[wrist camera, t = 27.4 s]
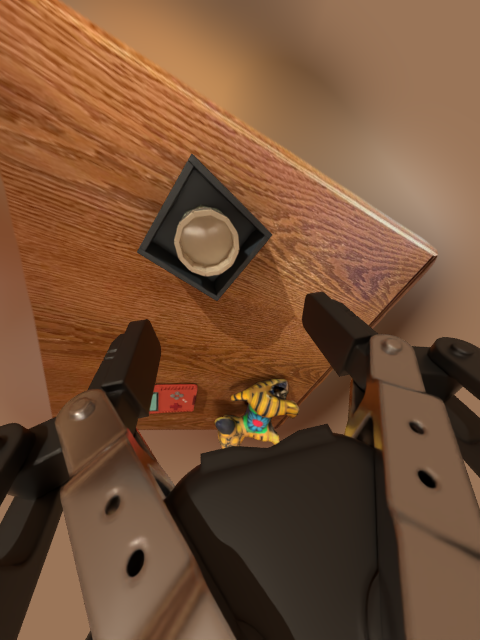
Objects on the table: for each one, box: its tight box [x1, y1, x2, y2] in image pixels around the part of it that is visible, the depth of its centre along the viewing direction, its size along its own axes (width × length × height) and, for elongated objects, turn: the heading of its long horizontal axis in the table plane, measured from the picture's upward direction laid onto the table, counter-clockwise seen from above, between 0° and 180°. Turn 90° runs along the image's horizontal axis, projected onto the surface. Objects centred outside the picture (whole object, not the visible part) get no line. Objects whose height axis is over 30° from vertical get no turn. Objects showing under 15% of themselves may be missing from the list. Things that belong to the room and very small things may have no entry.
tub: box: [137, 154, 272, 301], centre depth 22 cm, size 10×10×5 cm
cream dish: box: [174, 207, 239, 276], centre depth 20 cm, size 6×6×2 cm
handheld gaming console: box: [149, 384, 197, 414], centre depth 40 cm, size 9×1×15 cm
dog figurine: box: [215, 379, 299, 449], centre depth 45 cm, size 20×12×18 cm
